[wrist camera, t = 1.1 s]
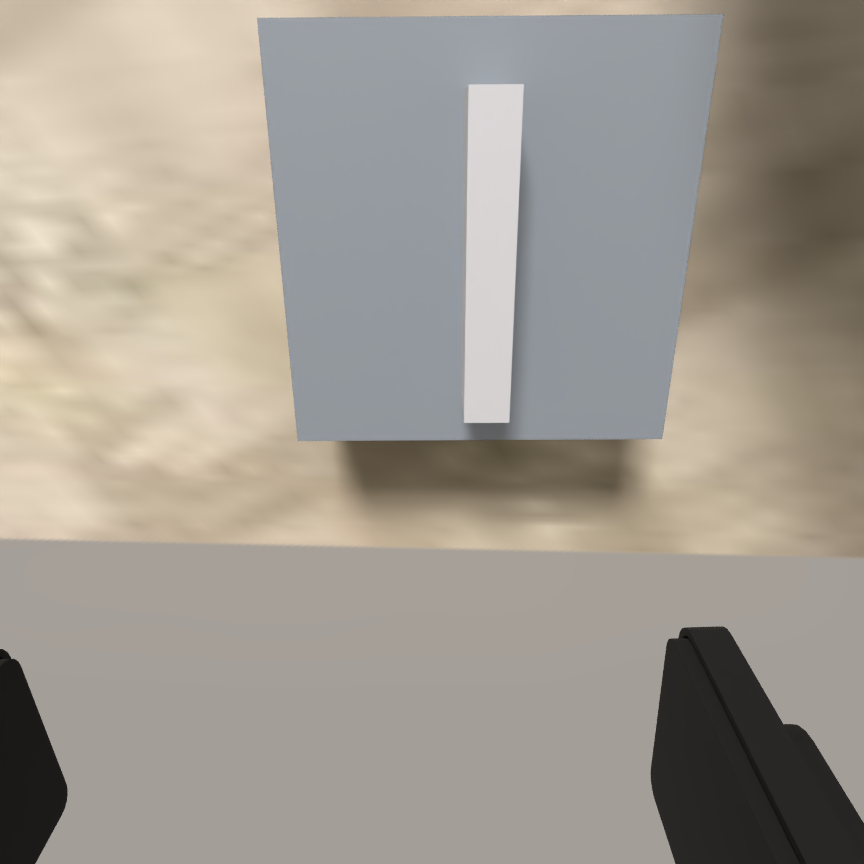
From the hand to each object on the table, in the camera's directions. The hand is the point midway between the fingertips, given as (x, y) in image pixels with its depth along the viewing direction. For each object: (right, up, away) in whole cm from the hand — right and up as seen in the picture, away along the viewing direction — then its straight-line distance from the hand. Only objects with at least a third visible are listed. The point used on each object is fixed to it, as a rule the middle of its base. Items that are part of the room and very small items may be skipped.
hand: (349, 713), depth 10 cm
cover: (+3, +11, +14) cm, 18 cm away
